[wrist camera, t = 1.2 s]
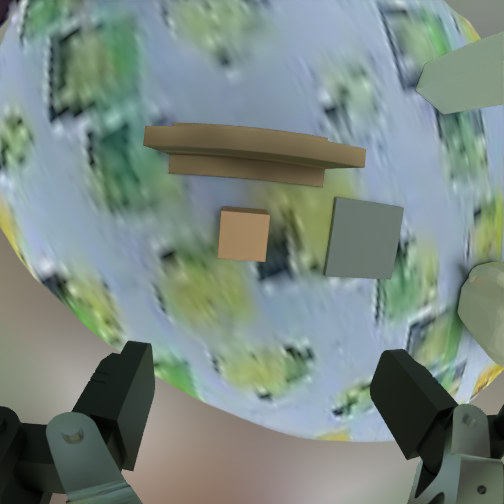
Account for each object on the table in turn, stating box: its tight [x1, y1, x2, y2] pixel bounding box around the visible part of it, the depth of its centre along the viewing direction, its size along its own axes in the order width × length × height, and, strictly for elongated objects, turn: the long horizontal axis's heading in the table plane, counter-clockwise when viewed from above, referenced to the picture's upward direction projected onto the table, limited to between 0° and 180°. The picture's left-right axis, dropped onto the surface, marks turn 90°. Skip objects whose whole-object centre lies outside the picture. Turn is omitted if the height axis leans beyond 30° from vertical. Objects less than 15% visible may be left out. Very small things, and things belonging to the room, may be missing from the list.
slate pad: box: [324, 197, 404, 279], centre depth 37 cm, size 10×10×1 cm
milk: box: [416, 31, 504, 115], centre depth 21 cm, size 6×6×22 cm
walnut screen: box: [143, 123, 366, 187], centre depth 28 cm, size 6×18×12 cm, turn 85°
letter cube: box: [218, 206, 270, 262], centre depth 33 cm, size 5×5×5 cm
